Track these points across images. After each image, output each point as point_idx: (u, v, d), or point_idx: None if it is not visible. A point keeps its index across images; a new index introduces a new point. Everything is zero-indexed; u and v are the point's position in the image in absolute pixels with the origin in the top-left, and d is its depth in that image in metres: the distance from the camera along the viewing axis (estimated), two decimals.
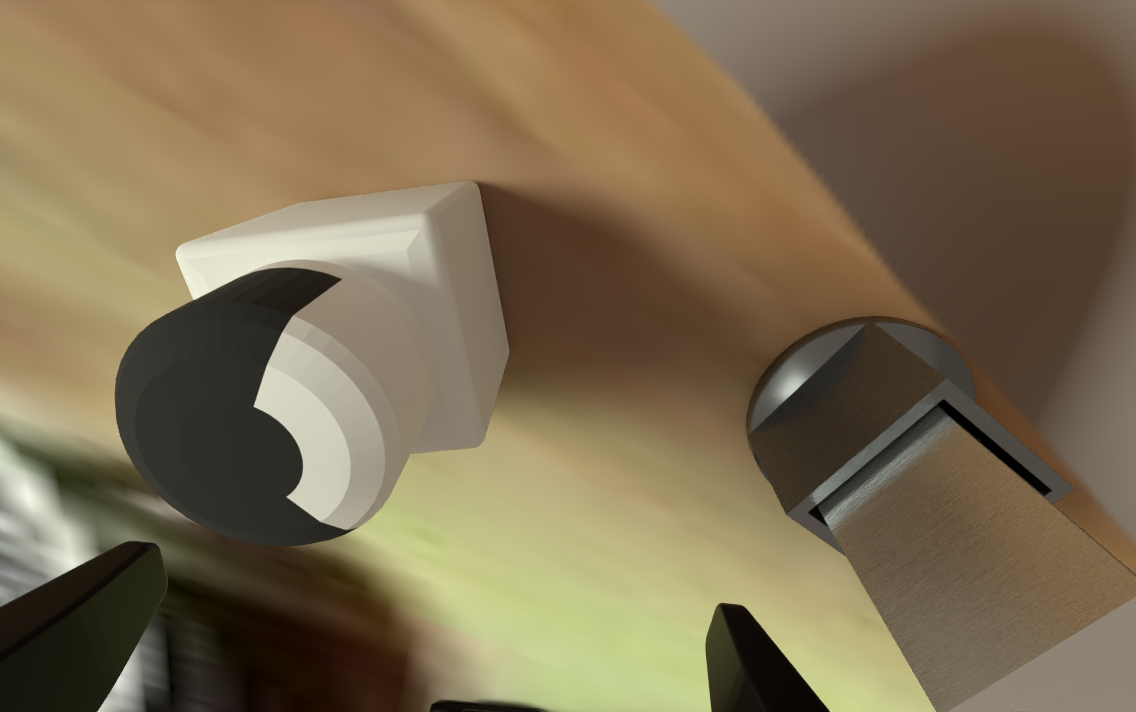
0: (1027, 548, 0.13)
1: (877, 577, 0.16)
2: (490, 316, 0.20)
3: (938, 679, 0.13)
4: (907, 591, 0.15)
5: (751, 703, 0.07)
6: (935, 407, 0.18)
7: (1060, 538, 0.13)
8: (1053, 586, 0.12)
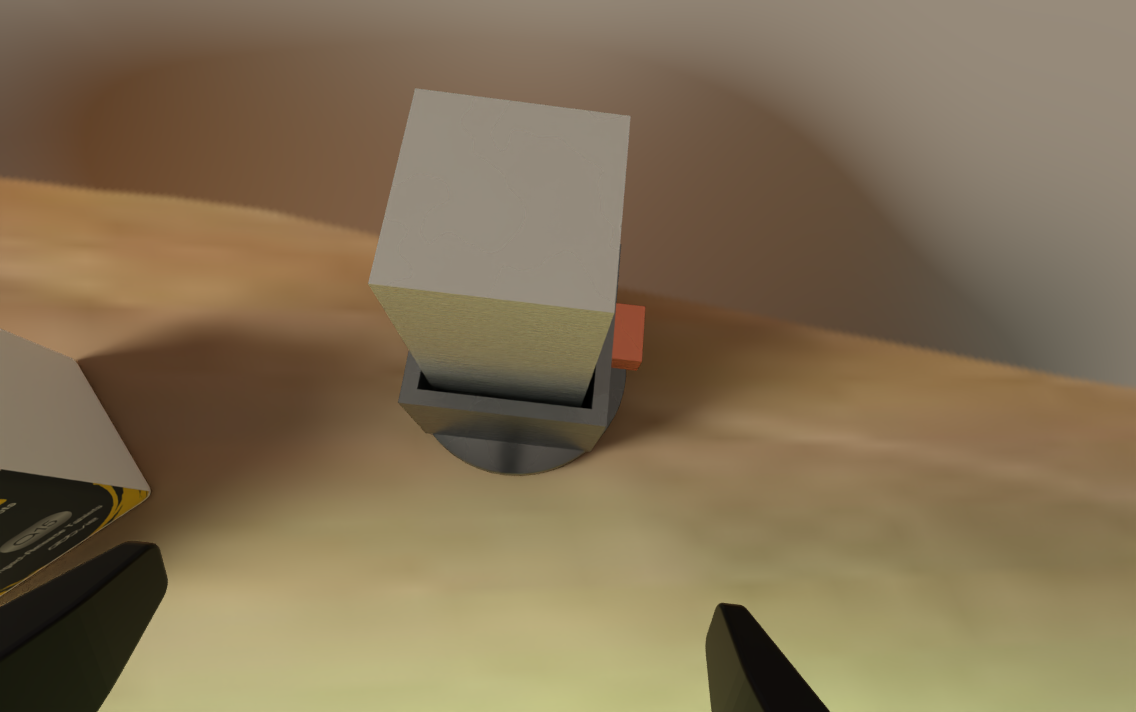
0: None
1: None
2: (75, 426, 0.20)
3: None
4: None
5: (751, 703, 0.07)
6: None
7: None
8: None
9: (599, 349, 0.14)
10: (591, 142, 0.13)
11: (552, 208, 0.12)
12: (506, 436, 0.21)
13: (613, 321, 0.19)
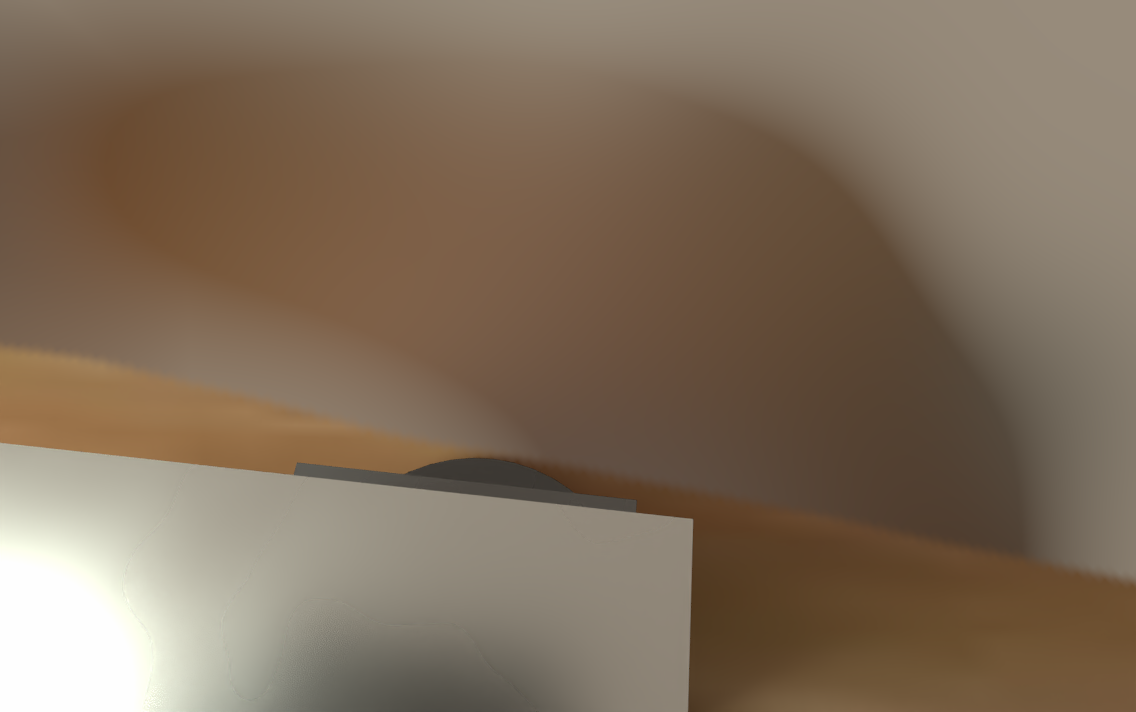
0: None
1: None
2: None
3: None
4: None
5: None
6: None
7: None
8: None
9: None
10: (568, 641, 0.04)
11: None
12: None
13: None
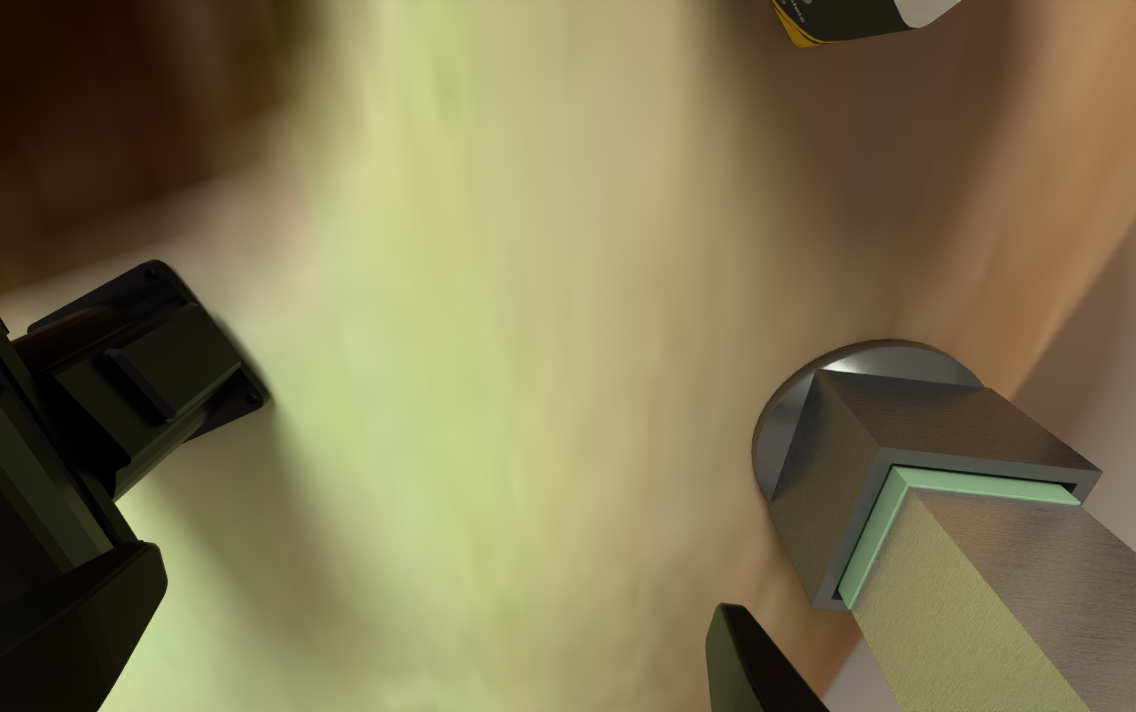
0: None
1: (1114, 711, 0.10)
2: None
3: None
4: None
5: (751, 703, 0.07)
6: None
7: None
8: None
9: None
10: None
11: None
12: (801, 461, 0.21)
13: None
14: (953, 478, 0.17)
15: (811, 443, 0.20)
